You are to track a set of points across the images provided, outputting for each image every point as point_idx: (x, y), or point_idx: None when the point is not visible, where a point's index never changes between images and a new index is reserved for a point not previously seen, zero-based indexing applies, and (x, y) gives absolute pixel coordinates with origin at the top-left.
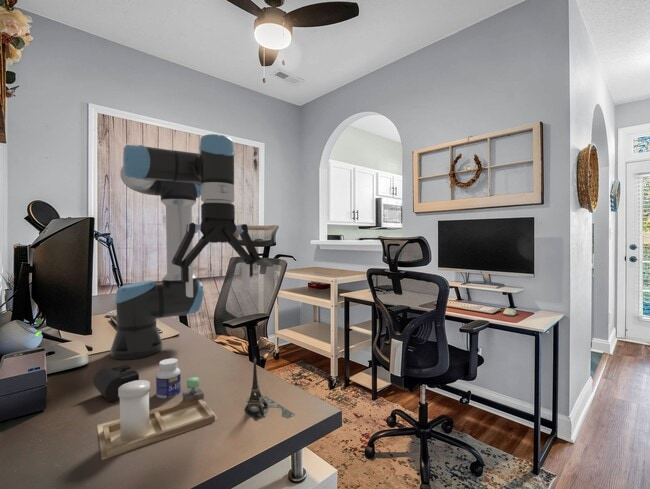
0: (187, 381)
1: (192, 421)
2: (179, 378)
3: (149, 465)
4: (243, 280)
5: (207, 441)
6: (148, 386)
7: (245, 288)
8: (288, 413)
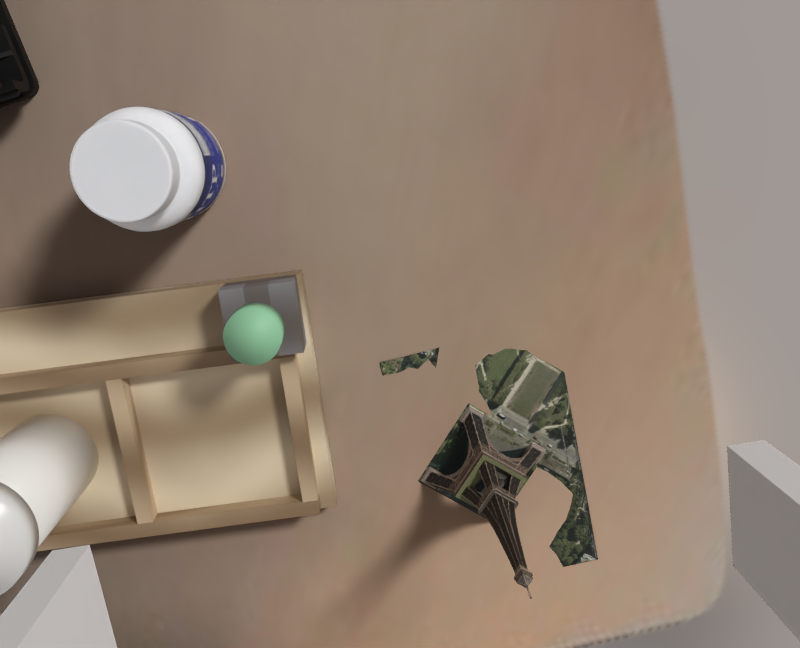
0: (225, 346)
1: (238, 515)
2: (202, 199)
3: (113, 598)
4: (794, 537)
5: (283, 565)
6: (24, 567)
7: (743, 538)
8: (580, 541)
